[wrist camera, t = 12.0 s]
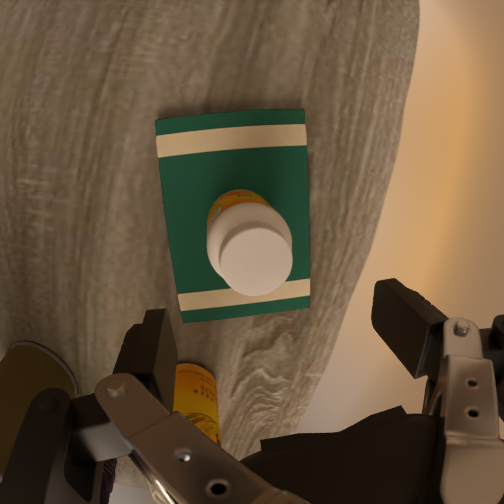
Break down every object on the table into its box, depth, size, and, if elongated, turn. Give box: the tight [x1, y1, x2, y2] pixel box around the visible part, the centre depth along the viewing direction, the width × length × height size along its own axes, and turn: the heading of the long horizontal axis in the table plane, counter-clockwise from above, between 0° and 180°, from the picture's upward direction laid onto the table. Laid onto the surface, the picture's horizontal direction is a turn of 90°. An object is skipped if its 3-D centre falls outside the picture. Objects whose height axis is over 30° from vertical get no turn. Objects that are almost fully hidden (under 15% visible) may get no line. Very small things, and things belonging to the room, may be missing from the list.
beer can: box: [148, 363, 221, 504], centre depth 25 cm, size 6×6×15 cm
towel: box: [155, 109, 310, 323], centre depth 27 cm, size 18×12×1 cm, turn 4°
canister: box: [0, 341, 78, 486], centre depth 20 cm, size 11×10×20 cm
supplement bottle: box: [207, 190, 293, 296], centre depth 22 cm, size 5×5×10 cm
